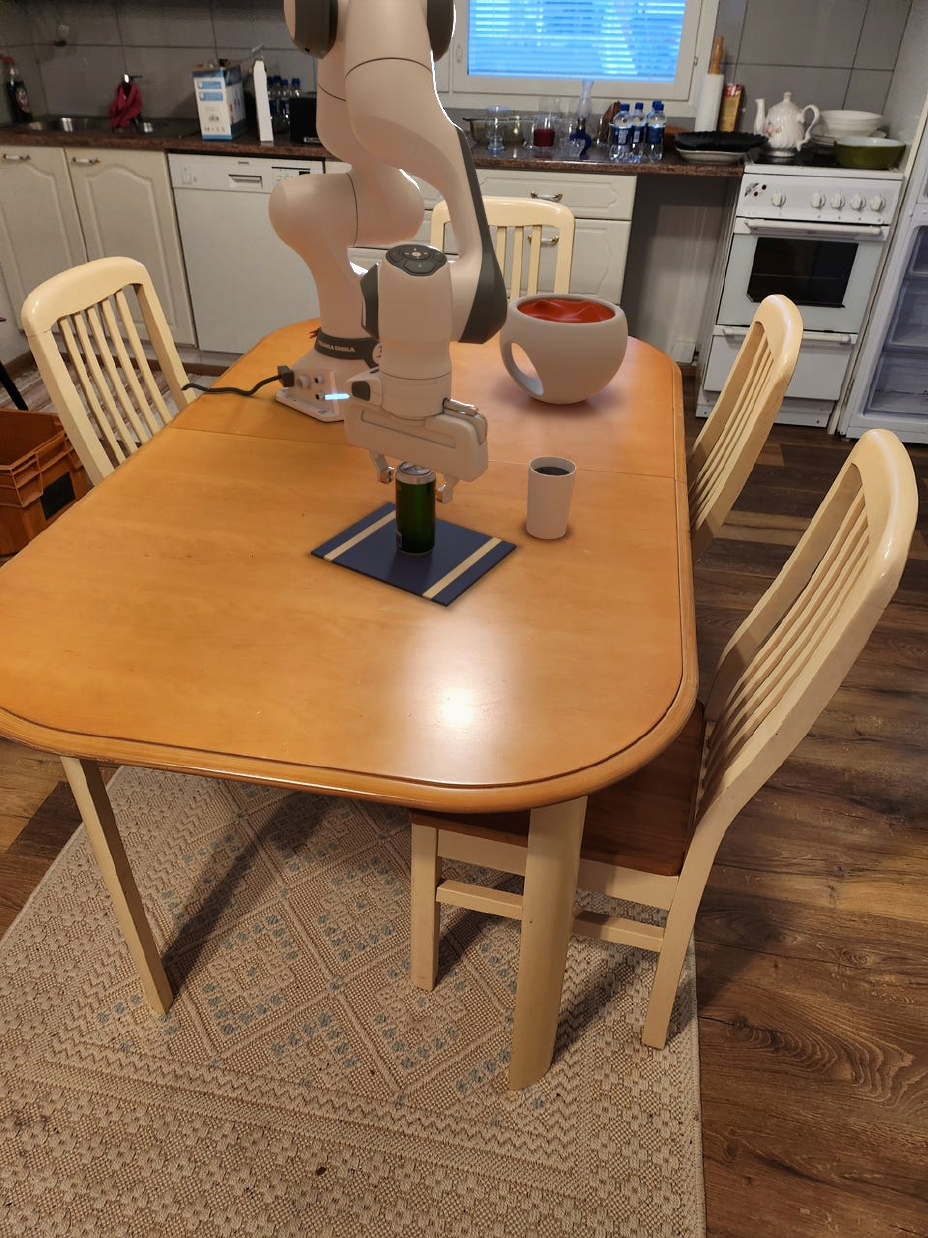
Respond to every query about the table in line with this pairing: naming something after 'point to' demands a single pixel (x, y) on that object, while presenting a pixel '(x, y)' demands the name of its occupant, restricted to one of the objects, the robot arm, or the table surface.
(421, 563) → the cloth
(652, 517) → the table surface
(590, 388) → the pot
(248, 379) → the table surface
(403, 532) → the green drink can
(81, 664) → the table surface
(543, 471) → the white coffee cup
